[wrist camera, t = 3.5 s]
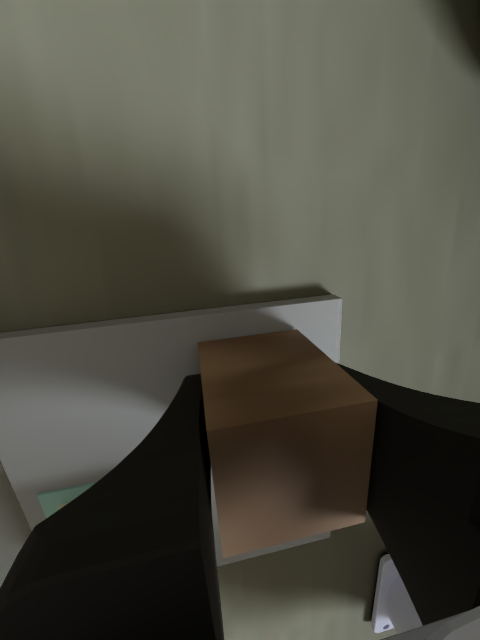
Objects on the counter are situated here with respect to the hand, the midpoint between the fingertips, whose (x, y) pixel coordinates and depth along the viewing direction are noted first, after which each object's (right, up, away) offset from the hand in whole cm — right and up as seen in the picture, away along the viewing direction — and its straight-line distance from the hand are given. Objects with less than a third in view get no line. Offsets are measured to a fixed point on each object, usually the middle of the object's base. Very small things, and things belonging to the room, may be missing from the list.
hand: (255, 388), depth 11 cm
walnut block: (0, 0, +1) cm, 1 cm away
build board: (-3, -4, +2) cm, 5 cm away
